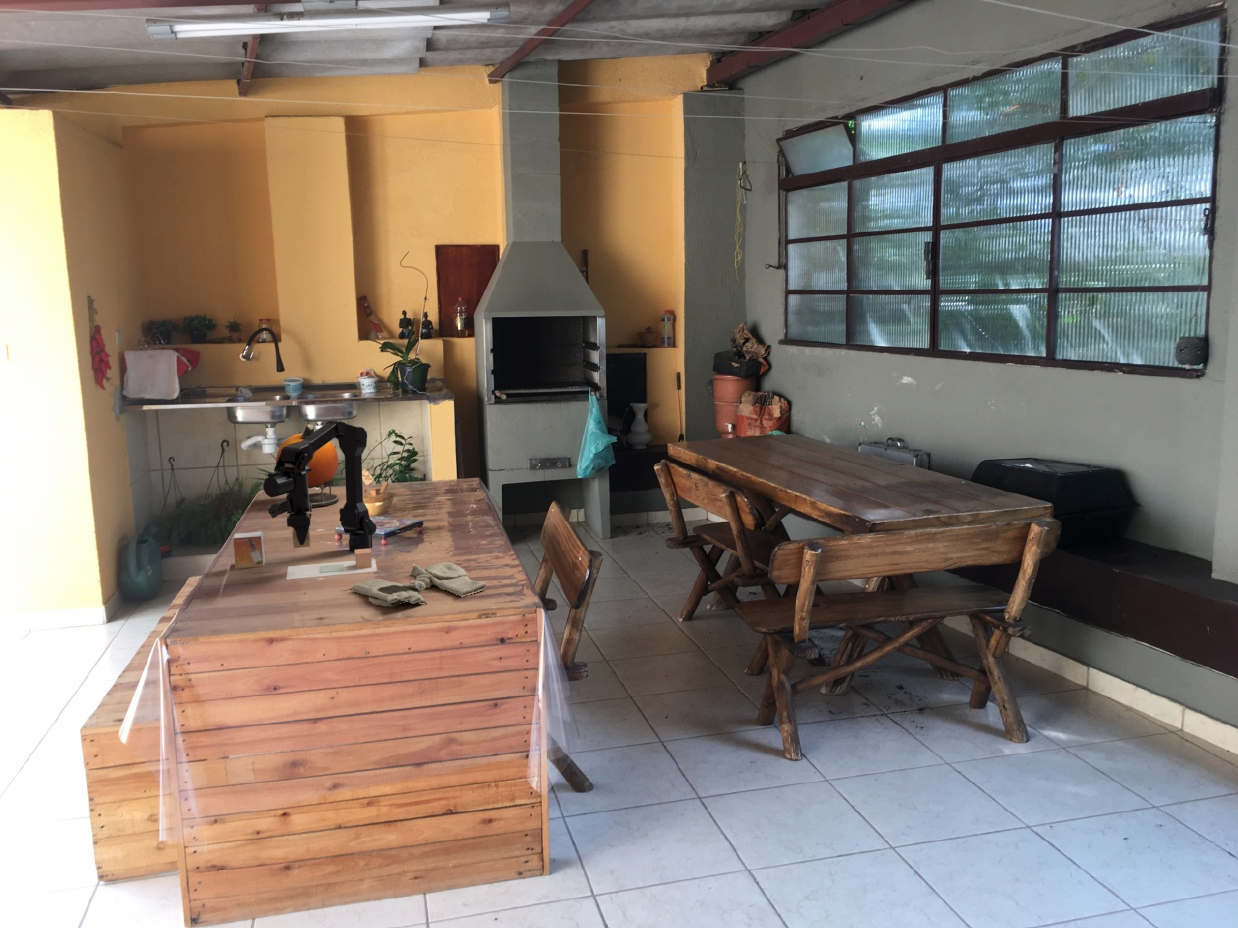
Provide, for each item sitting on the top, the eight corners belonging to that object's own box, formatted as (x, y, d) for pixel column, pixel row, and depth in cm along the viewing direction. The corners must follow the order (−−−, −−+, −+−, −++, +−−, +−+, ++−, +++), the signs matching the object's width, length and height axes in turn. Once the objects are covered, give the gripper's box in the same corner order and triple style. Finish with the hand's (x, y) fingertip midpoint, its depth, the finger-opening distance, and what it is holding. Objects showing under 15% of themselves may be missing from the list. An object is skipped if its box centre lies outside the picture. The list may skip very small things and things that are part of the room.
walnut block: (294, 543, 298) (293, 528, 297) (310, 542, 299) (309, 527, 298) (293, 548, 293) (292, 532, 292) (310, 546, 294) (308, 531, 294)
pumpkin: (274, 500, 393) (268, 423, 388) (333, 493, 404) (328, 417, 398) (285, 512, 374) (278, 430, 368) (347, 504, 385) (341, 425, 379)
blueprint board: (375, 562, 309) (375, 558, 309) (377, 575, 297) (376, 570, 296) (288, 570, 303) (288, 565, 302) (286, 583, 290) (286, 578, 290)
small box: (235, 572, 302) (232, 538, 299) (237, 567, 307) (234, 533, 305) (264, 570, 304) (261, 535, 302) (265, 564, 309) (262, 530, 307)
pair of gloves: (388, 616, 263) (386, 597, 262) (349, 591, 284) (348, 573, 282) (491, 592, 281) (490, 574, 280) (448, 571, 301) (447, 553, 300)
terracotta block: (355, 564, 303) (354, 549, 302) (371, 563, 304) (370, 548, 304) (356, 568, 299) (354, 553, 298) (371, 567, 300) (370, 552, 299)
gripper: (270, 485, 300) (274, 536, 303) (265, 499, 282) (270, 553, 285) (309, 482, 302) (314, 533, 305) (307, 496, 285) (312, 550, 288)
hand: (302, 542), depth 296 cm, fingers closed on walnut block, 4 cm apart
